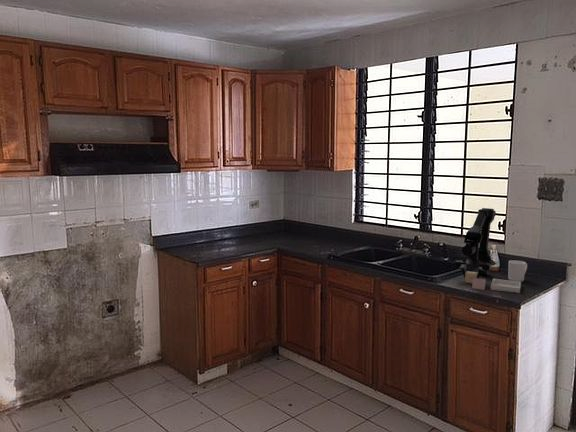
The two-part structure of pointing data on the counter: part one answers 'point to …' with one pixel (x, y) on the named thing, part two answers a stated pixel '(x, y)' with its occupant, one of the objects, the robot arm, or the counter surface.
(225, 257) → the counter surface
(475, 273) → the oak block
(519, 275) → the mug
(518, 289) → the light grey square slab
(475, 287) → the rose box
